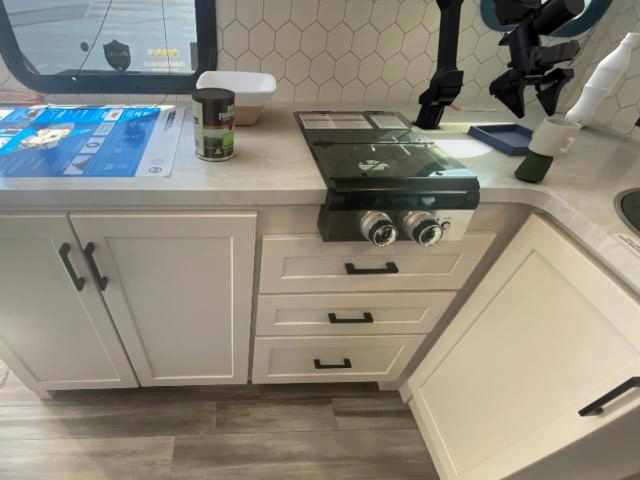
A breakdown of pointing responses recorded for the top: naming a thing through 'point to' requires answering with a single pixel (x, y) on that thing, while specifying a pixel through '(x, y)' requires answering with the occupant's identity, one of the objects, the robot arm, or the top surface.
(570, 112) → the water bottle
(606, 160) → the top surface
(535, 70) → the robot arm
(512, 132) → the shallow blue square tray
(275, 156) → the top surface
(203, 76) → the bowl
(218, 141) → the coffee can
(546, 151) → the character mug
